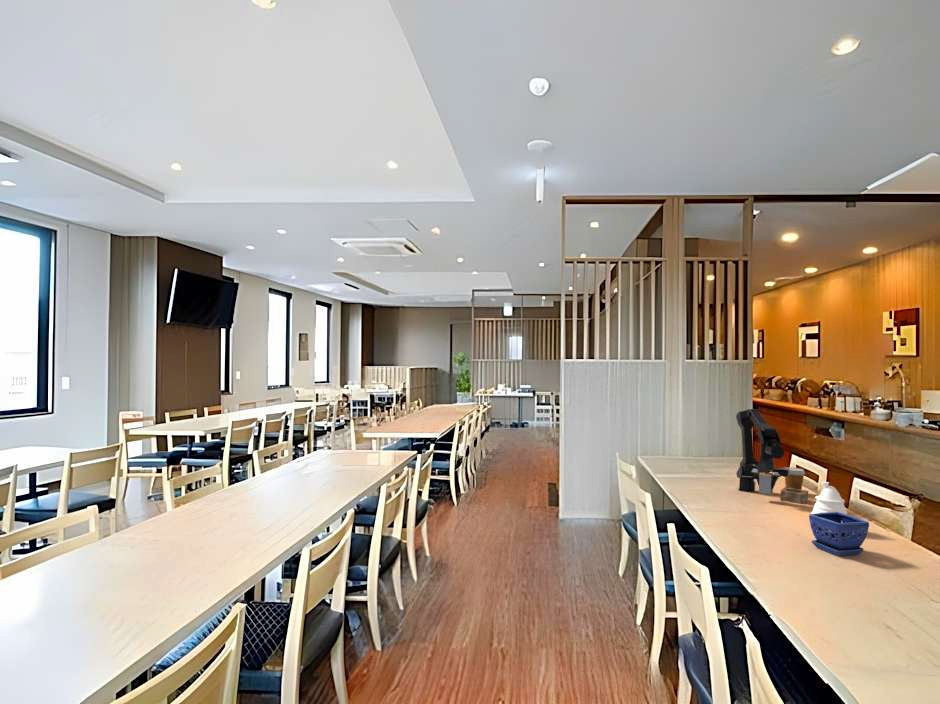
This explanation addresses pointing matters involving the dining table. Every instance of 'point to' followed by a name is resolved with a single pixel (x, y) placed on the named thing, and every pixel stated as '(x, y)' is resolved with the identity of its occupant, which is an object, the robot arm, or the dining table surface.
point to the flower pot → (838, 532)
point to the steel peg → (765, 483)
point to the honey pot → (829, 501)
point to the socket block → (794, 495)
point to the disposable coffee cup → (794, 478)
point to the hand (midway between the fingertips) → (766, 488)
